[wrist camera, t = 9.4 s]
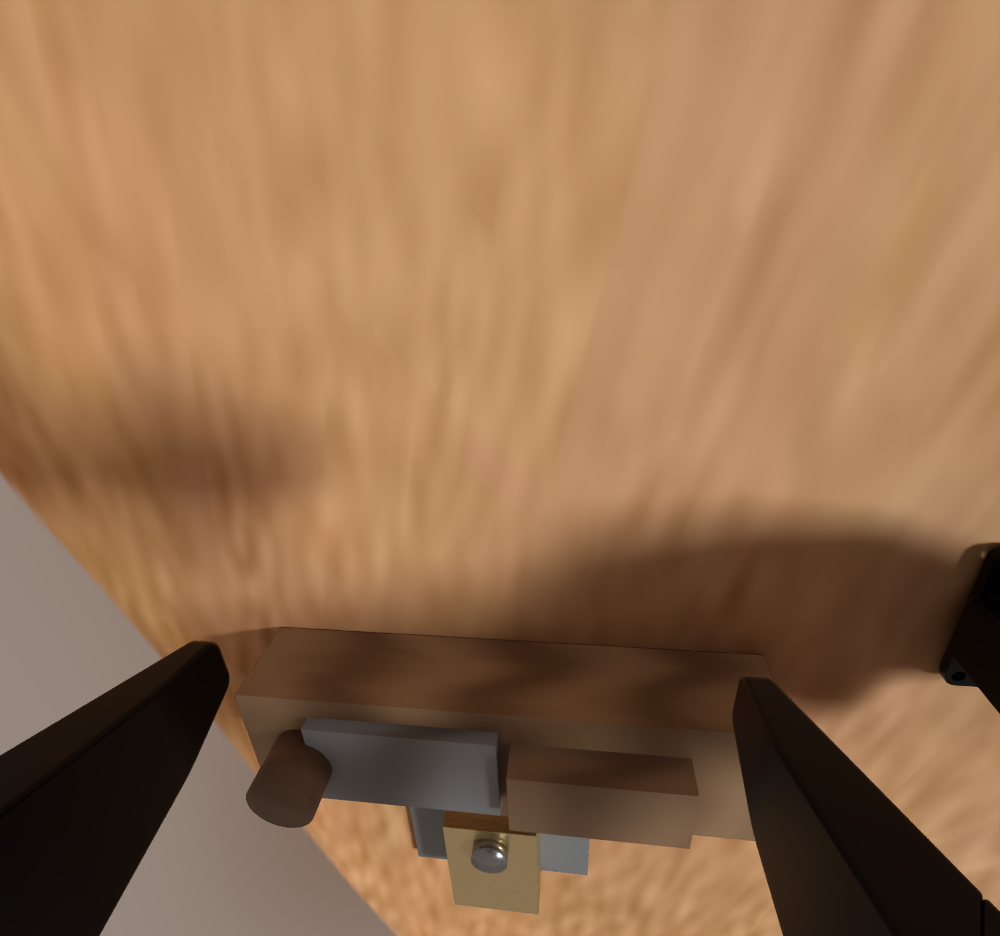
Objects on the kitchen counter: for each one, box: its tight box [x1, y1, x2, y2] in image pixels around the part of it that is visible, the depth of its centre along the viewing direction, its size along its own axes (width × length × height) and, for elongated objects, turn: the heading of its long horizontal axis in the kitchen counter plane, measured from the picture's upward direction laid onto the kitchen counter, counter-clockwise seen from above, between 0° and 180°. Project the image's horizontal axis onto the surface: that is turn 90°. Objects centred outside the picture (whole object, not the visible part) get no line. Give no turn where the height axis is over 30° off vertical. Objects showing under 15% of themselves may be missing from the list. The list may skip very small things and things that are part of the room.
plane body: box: [234, 627, 774, 849], centre depth 23 cm, size 22×6×6 cm, turn 92°
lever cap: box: [443, 810, 541, 914], centre depth 29 cm, size 7×5×3 cm, turn 3°
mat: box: [410, 807, 589, 875], centre depth 31 cm, size 10×8×1 cm
